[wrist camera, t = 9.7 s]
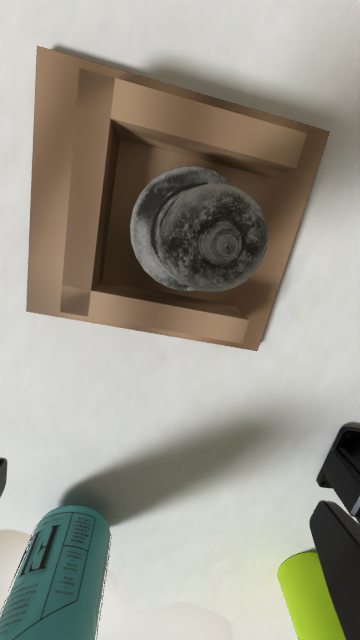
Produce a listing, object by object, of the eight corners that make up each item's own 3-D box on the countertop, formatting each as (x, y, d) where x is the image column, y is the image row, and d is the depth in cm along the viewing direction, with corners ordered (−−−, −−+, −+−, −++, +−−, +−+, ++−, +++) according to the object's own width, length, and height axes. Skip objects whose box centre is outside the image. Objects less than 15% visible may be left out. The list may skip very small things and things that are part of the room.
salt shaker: (223, 283, 18) (324, 381, 7) (133, 273, 18) (81, 363, 6) (239, 185, 16) (419, 97, 5) (139, 170, 16) (82, 34, 4)
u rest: (322, 135, 16) (367, 111, 13) (253, 346, 21) (273, 371, 17) (43, 54, 14) (4, -2, 11) (31, 307, 19) (1, 327, 15)
